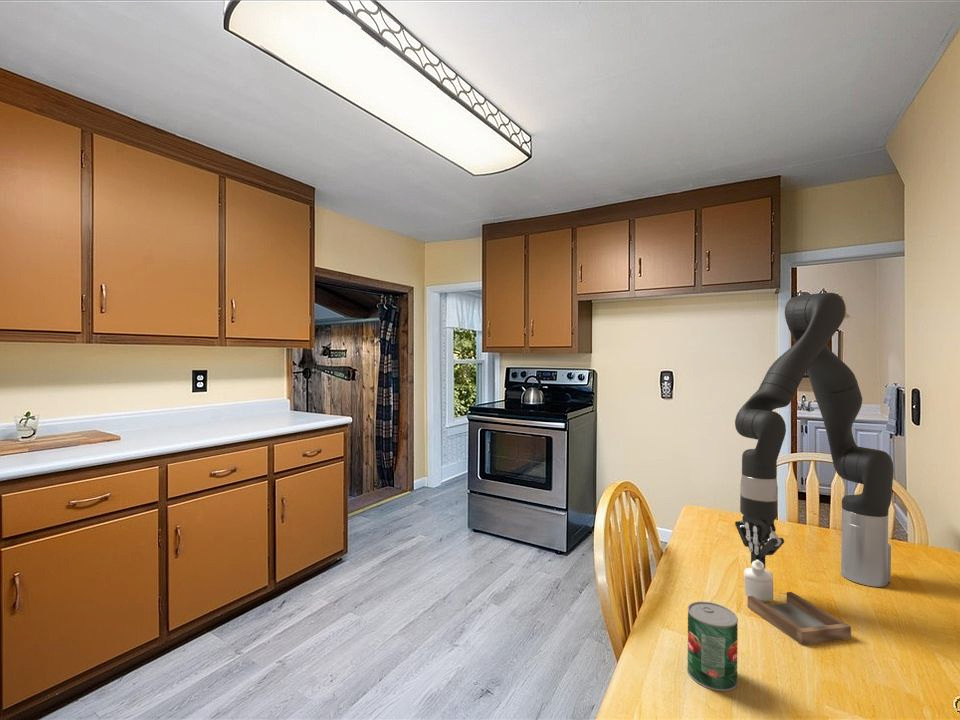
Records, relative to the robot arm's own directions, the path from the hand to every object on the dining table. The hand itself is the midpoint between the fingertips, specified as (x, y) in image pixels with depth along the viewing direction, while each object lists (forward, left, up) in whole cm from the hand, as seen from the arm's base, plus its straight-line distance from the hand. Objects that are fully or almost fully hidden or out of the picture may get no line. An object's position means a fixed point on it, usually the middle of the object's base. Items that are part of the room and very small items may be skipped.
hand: (757, 569), depth 110 cm
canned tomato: (+29, +22, -7) cm, 37 cm away
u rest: (0, +10, -6) cm, 12 cm away
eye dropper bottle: (0, +1, -6) cm, 6 cm away
